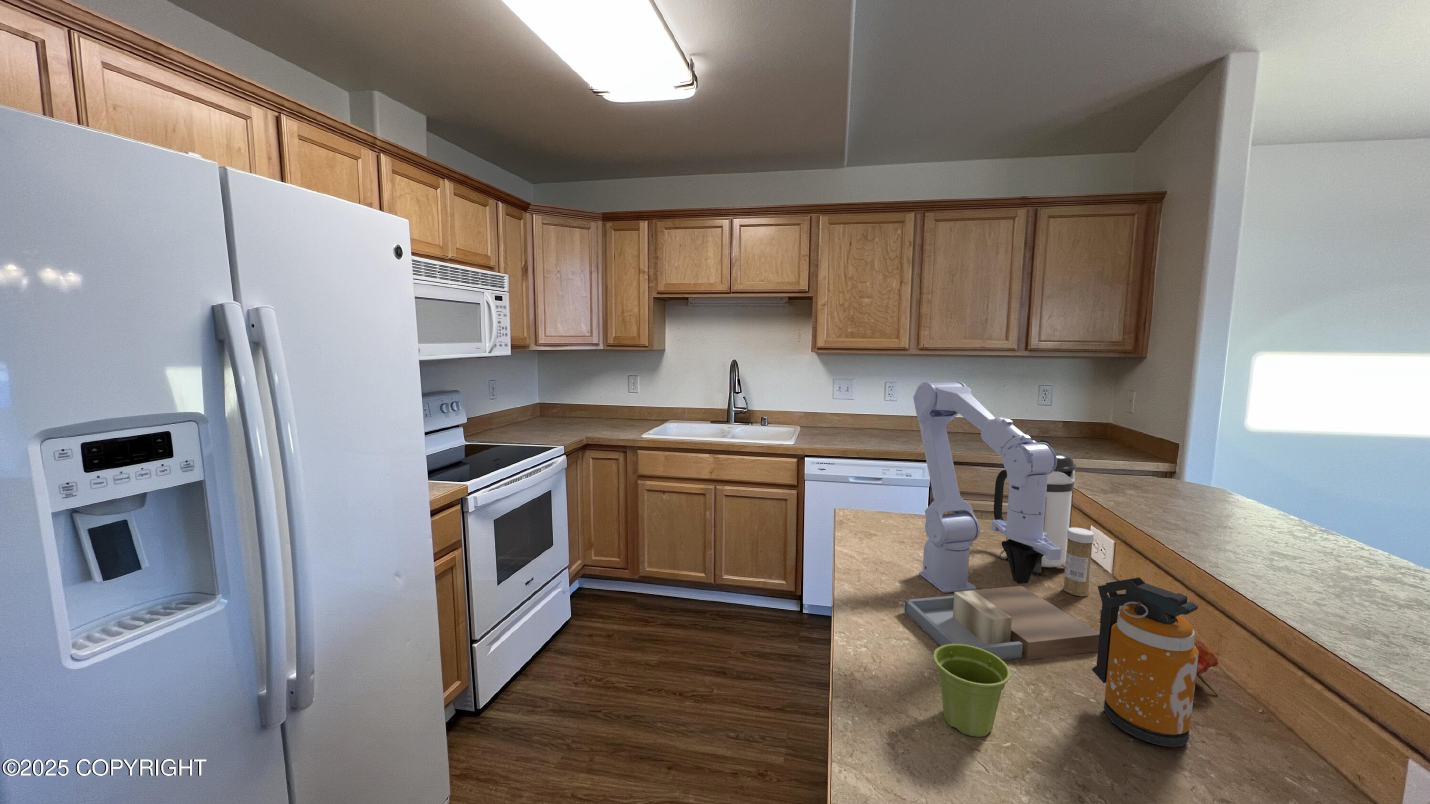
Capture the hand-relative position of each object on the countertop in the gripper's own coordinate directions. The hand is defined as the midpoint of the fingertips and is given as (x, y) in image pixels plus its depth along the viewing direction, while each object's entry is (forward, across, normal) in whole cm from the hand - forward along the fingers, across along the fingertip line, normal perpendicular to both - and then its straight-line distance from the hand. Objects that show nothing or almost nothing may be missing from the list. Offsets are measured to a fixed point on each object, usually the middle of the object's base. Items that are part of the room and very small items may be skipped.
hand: (1020, 581), depth 95 cm
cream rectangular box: (+6, 0, +6) cm, 8 cm away
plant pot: (+9, -20, +24) cm, 33 cm away
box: (+9, 0, +12) cm, 15 cm away
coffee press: (+9, +25, -24) cm, 36 cm away
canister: (+9, -24, +1) cm, 26 cm away
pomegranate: (+9, -18, -15) cm, 25 cm away
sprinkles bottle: (+9, +10, -22) cm, 26 cm away
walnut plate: (+9, 0, -1) cm, 9 cm away
